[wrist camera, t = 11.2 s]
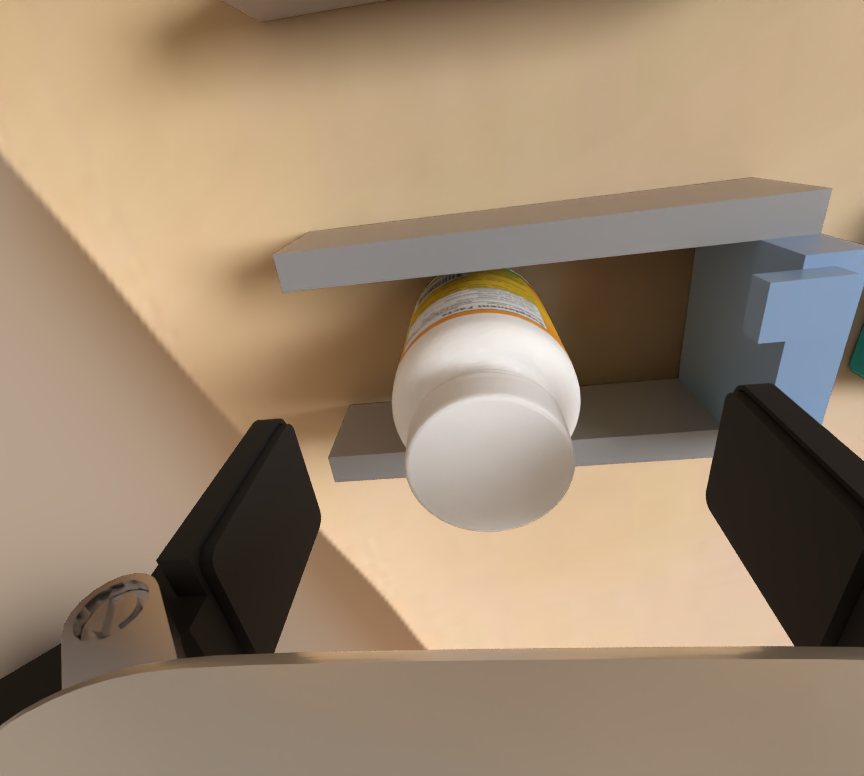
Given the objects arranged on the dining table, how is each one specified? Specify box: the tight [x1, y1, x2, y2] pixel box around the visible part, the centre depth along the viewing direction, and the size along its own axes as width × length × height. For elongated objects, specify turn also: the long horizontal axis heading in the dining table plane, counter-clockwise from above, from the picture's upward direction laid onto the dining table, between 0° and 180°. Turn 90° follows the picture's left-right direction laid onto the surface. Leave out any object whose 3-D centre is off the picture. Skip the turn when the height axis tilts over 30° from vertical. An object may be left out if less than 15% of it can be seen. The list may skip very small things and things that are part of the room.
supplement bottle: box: [392, 268, 580, 532], centre depth 15 cm, size 5×5×10 cm
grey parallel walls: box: [222, 0, 864, 482], centre depth 13 cm, size 24×16×7 cm, turn 7°
